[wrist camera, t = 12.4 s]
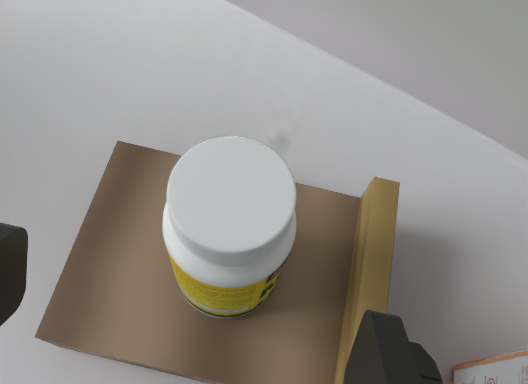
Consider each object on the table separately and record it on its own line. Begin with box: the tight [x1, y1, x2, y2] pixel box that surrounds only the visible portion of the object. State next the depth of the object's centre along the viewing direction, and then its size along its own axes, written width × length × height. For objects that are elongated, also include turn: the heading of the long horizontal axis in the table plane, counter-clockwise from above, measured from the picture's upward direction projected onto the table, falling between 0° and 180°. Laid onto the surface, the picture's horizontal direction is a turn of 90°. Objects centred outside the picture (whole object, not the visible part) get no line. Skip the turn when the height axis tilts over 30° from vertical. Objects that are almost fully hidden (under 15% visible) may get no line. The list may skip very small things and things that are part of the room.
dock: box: [35, 141, 400, 384], centre depth 22 cm, size 14×10×5 cm
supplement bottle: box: [162, 136, 297, 318], centre depth 18 cm, size 5×5×8 cm
